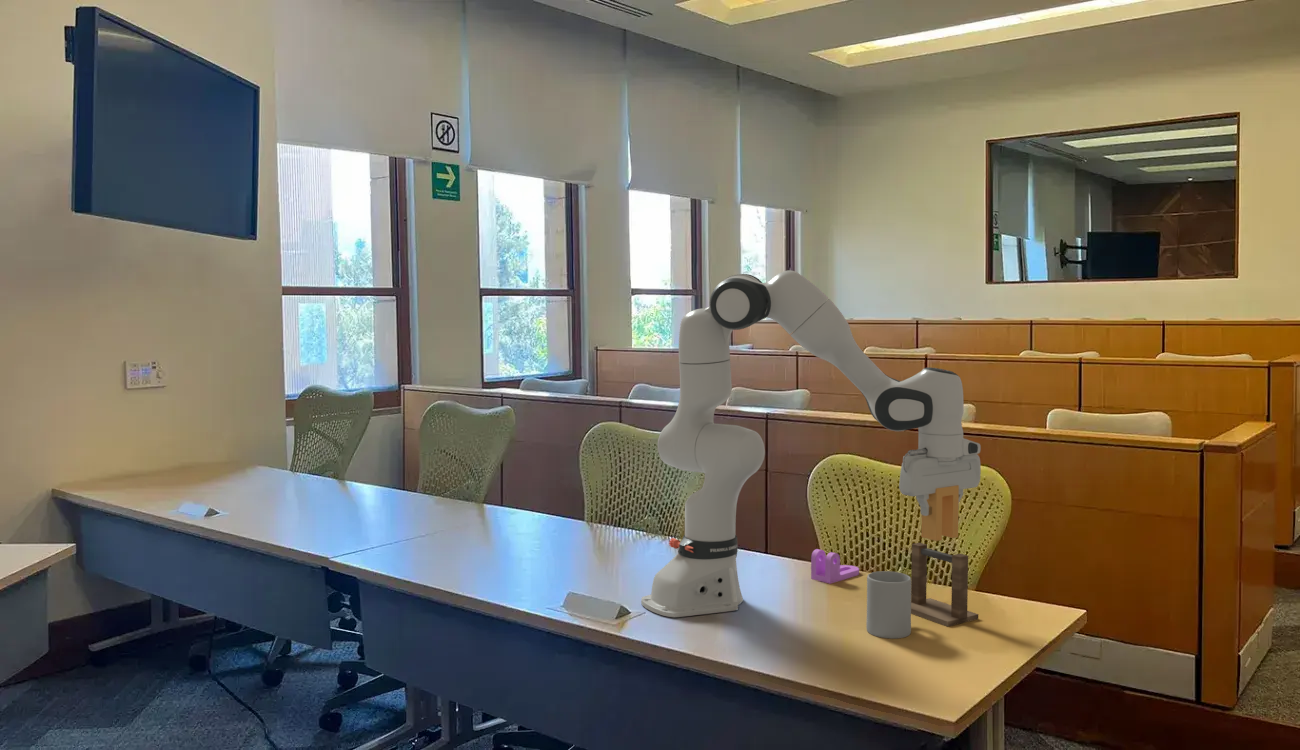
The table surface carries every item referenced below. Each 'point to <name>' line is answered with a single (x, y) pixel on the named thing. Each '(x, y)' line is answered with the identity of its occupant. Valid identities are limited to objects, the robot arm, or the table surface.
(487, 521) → the table surface
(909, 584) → the mug
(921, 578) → the stand with crossbar
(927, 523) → the tan arch block
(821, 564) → the bracket
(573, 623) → the table surface
